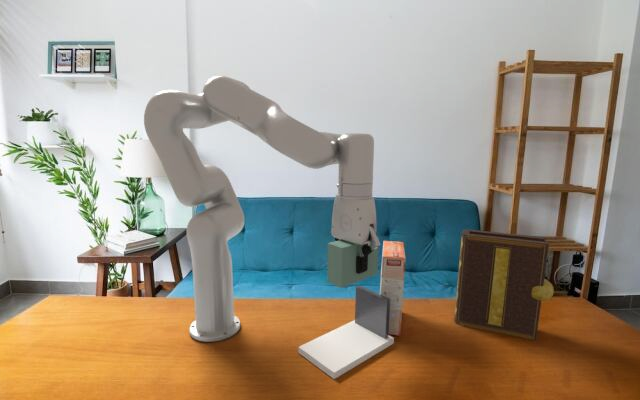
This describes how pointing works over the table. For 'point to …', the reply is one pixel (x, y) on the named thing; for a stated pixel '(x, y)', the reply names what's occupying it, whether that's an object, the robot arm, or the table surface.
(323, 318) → the table surface
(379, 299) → the bookend
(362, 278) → the book block
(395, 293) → the cracker box
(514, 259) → the book
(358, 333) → the shelf board
